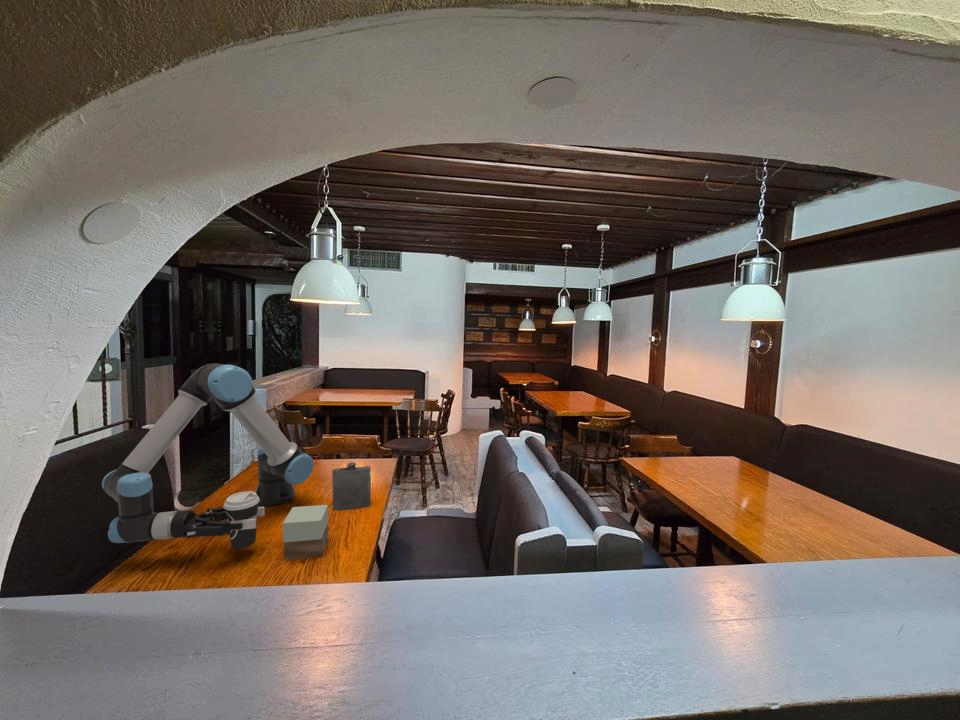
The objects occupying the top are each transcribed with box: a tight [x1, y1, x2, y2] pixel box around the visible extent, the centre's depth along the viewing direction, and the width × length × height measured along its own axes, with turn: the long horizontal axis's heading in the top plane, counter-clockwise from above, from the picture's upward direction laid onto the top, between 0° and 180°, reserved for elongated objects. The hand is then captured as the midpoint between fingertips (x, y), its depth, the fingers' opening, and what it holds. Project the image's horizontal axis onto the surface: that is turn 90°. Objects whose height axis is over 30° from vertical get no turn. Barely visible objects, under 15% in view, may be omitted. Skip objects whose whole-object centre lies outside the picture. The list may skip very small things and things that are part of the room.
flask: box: [331, 462, 372, 511], centre depth 154 cm, size 4×14×18 cm, turn 106°
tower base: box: [283, 523, 329, 562], centre depth 125 cm, size 11×11×6 cm
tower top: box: [282, 504, 329, 543], centre depth 124 cm, size 11×11×6 cm
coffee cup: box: [222, 490, 260, 550], centre depth 120 cm, size 10×10×15 cm
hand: (259, 517), depth 121 cm, fingers closed on coffee cup, 7 cm apart
